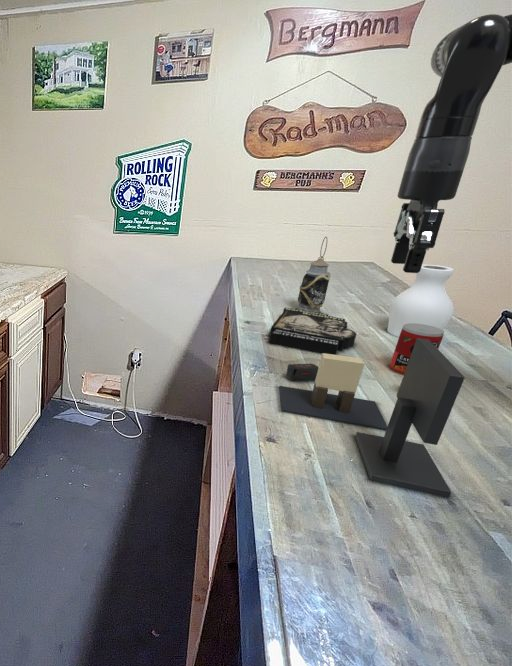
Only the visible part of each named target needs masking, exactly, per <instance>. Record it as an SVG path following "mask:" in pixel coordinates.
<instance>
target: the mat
mask: <svg viewBox="0 0 512 666" xmlns="http://www.w3.org/2000/svg"><path fill="white" fill-rule="evenodd" d="M312 392H313V390H308V389H303V388H297V387H291V386H290V387H289V386H285V385H284V386H283V385H279V397H280V409H281V412H283V413H288V414H292V415H293V414H294V415H298V416H305V417H310V418H315V419H321V420H325V421H331V422H332V421H333V422H337V423H343V424H347V425H352V426H353V425H354V426H357V427H364V428H369V429H373V430H374V429H375V430H382V431H385V432H386V430H387V427H388V424H387V423H386V421H385V419H384V418H383V415H382V413H381V411H380V409H379V407H378V405H377V403H376V401H375V400H368V399H363V398H356V397H354V399H353V402H352V406H351V409H350V412H349V413H345V412H339V410H338V407H337V404H336V400H337V396H338V394H332V393H327V396H326V399H325V403H324V406H323V409H322V408H316V407H313V405H312V401H311V395H312Z"/></svg>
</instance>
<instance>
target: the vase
mask: <svg viewBox="0 0 512 666" xmlns="http://www.w3.org/2000/svg"><path fill="white" fill-rule="evenodd" d="M454 272H455V269H454V268H452V267H449V266H444V265H437V264H422V266H421V270H420V272H418V273H415V280H414V282H413V284H412V285H410V286H409V287H408V288H407V289H405V290H404V291H402V292H401V293H399V294H397V295H396V296H395V297H394V298H393V299H392V301H391V303H390V304H389V309H388V325H387V329H386V331H387V332H388V333H389V334H391V335H392V336H395V337H398V338H399V336H400V333H401V330H402V328H403V325H405V324H410V323H415V324H424V325H430V326H434V327H437V328H439V329H441V330H443V331H444V329H445V328H446V327H447V325H448V323H449V322H450V321H451V319H452V317H453V315H454V311H455V306H454V302H453V300H452V299H451V297H450V296H449V294H448V293H447V291H446V283H447V282H448V280H449V279H450V278H451V277H452V275H453V274H454Z"/></svg>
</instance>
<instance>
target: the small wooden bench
mask: <svg viewBox="0 0 512 666" xmlns="http://www.w3.org/2000/svg"><path fill="white" fill-rule="evenodd" d="M318 367H319V368H318V372H317V376H316V379H315V380H314V385H313V389H312V391H313V392H312V395H311V401H312V405H313V407H316V408H322V409H323V406H324V403H325V399H326V396H327V394H328V393H329V392H328V391H329V390H333V391H338V393H337V395H338V396H337V400H336V404H337V407H338V410H339V412H345V413H349V412H350V409H351V406H352V402H353V399H354V398H355V396H356V394H357V393H356V392H357V389H358V386H359V383H360V379H361V378H362V377H361V376H362V373H363V370H364V367H365V362H364V359H363V358H362V357H354V356H346V355H339V354H336V355H333V354H325V353H322V354H321V357H320V361H319V365H318Z"/></svg>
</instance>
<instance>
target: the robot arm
mask: <svg viewBox="0 0 512 666" xmlns="http://www.w3.org/2000/svg"><path fill="white" fill-rule="evenodd" d="M509 64H512V13H511V14H508V15H501V14H496V13H491V14H485V15H480V16H477V17H476V18H473V19H471V20H469V21H468V22H466V23H464V24H463V25H461V26H459V27H457V28H455V29H454V30H452V31H450V32H449V33H448V34H446V35H445V36H444V37H443V38H441V40H440V41H439V42H438V44H436V46H435V48H434V50H433V51H432V54H431V57H430V67H431V70H432V71H433V73H434V74H435V75H436V76H438V77H439V78H440V79H439V82H438V84H437V88H436V91H435V93H434V95H433V97H431V99H430V100H428V102H426V104H425V106H424V107H423V110H422V113H421V116H420V120H419V122H418V127H417V130H416V134H415V138H414V140H413V143H412V146H411V148H410V150H409V153H408V156H407V159H406V163H405V166H404V170H403V173H402V177H401V181H400V184H399V188H398V192H397V198H398V199H400V200H409V202H403V203H402V205H401V207H400V208H401V209H400V212H399V215H398V219H397V222H396V224H395V225H396V226H395V229H394V231H393V237H394V242H395V244H394V248H393V252H392V256H391V259H390V262H391V263H392V264H395V265H403V267H402V271H403V272H404V273H406V274H416V273H418V272H420V270H421V266H422V265H423V263H424V260H425V257H426V253H427V251H429V250H430V249H434V247H435V246H436V241H437V239H438V235H439V231H440V228H441V225H442V222H443V218H444V215H445V213H446V211H445V209H444V208H438V206H439V204H438V203H439V202H440V201H449V200H453V199H454V198H455V197H456V195H457V192H458V189H459V186H460V183H461V179H462V177H463V173H464V170H465V167H466V164H467V161H468V158H469V154H470V150H471V144H472V139H473V135H474V132H475V128H476V127H477V123H478V120H479V116H480V114H481V109H482V106H483V103H484V101H485V99H486V98H487V96H488V94H489V93H490V91H491V88H492V87H493V85H494V83H495V81H496V79H497V77H498V75H499V73H500V71H501V69H502V68H503V66H507V65H509Z"/></svg>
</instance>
